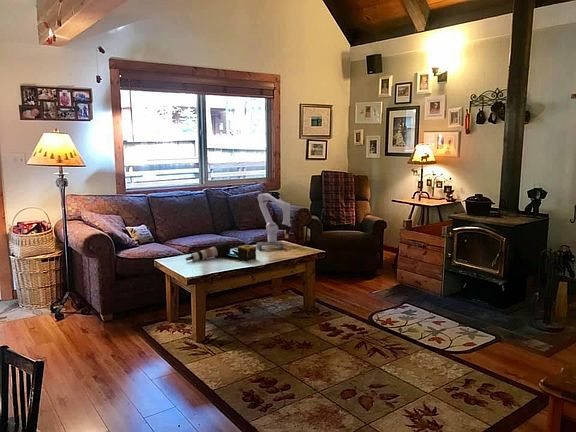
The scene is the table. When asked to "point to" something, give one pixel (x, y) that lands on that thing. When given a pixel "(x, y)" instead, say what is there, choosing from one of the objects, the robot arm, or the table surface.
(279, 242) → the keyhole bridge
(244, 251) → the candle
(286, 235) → the peg
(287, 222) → the robot arm
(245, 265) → the table surface
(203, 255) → the white black cylinder
